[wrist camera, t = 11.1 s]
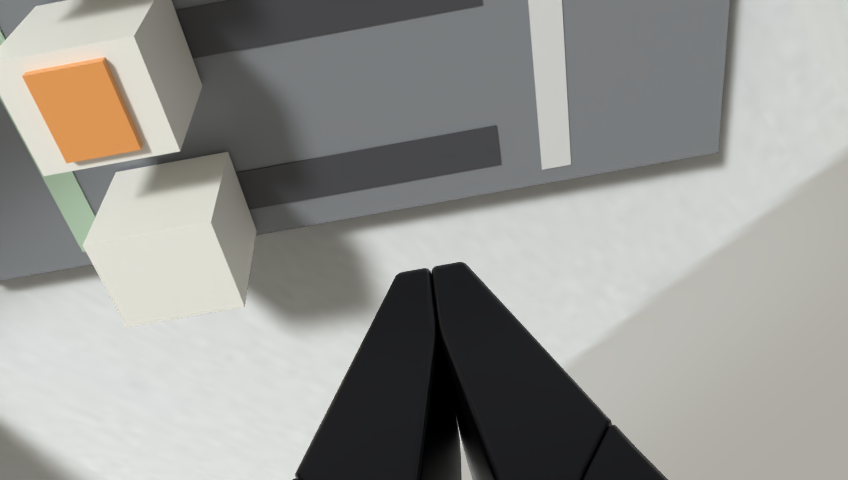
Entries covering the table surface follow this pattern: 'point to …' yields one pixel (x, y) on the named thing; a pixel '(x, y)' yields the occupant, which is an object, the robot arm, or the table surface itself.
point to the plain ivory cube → (174, 240)
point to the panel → (399, 107)
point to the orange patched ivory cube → (99, 82)
